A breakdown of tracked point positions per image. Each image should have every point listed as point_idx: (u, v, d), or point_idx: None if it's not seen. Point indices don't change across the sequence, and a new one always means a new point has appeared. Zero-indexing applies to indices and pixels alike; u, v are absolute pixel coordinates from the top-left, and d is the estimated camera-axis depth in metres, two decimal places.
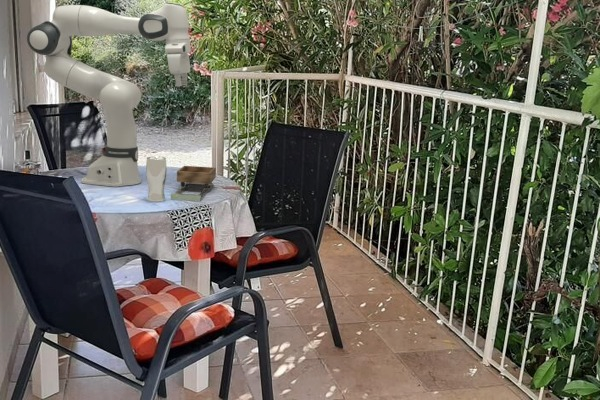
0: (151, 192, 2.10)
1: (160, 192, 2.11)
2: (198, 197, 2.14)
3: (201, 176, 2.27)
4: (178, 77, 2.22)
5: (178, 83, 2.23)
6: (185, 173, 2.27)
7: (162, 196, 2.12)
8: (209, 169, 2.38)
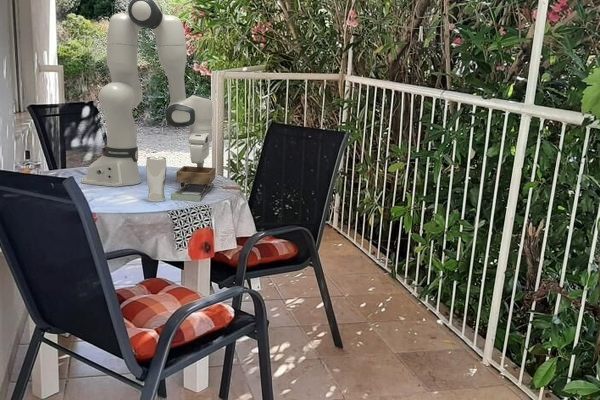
0: (151, 192, 2.10)
1: (160, 192, 2.11)
2: (198, 197, 2.14)
3: (201, 176, 2.26)
4: (200, 163, 2.37)
5: None
6: (185, 173, 2.26)
7: (162, 196, 2.12)
8: (209, 169, 2.37)
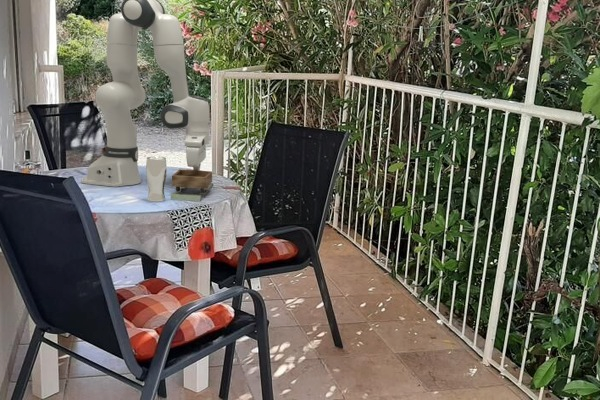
0: (151, 192, 2.10)
1: (160, 192, 2.11)
2: (198, 197, 2.14)
3: (197, 180, 2.19)
4: (196, 167, 2.30)
5: None
6: (180, 177, 2.19)
7: (162, 196, 2.12)
8: (205, 173, 2.30)
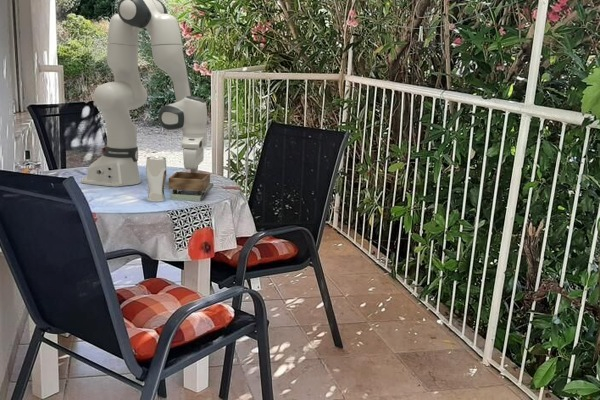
0: (151, 192, 2.10)
1: (160, 192, 2.11)
2: (198, 197, 2.14)
3: (194, 183, 2.14)
4: (194, 169, 2.25)
5: None
6: (177, 180, 2.14)
7: (162, 196, 2.12)
8: (203, 175, 2.25)
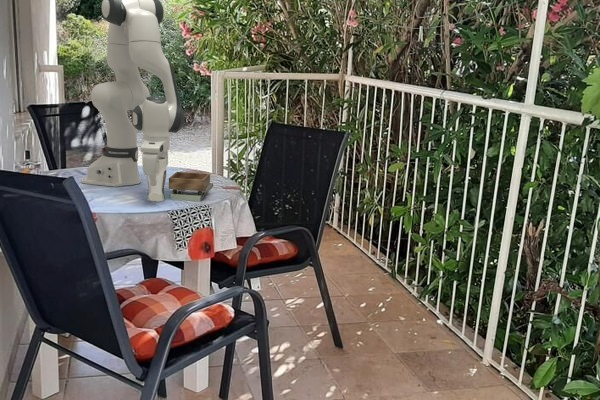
0: (151, 192, 2.10)
1: (159, 192, 2.11)
2: (198, 197, 2.14)
3: (194, 183, 2.14)
4: (153, 177, 2.06)
5: (153, 182, 2.07)
6: (177, 180, 2.14)
7: (162, 196, 2.12)
8: (203, 175, 2.26)
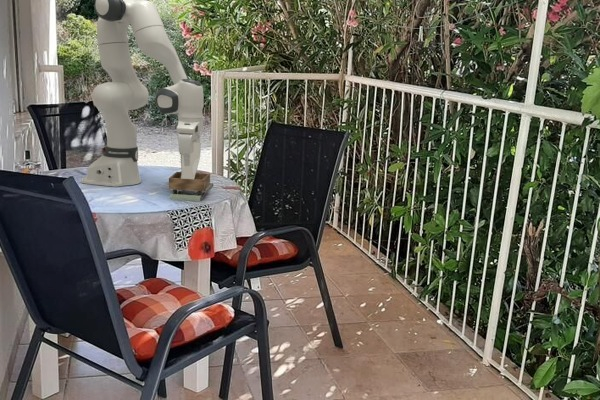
0: (184, 174, 2.16)
1: (192, 174, 2.16)
2: (198, 197, 2.14)
3: (194, 183, 2.14)
4: (187, 157, 2.12)
5: (187, 163, 2.14)
6: (177, 180, 2.14)
7: None
8: (203, 175, 2.26)
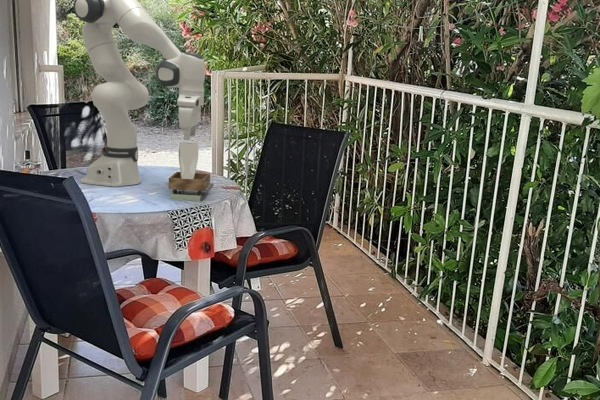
0: (183, 176, 2.15)
1: (191, 176, 2.16)
2: (198, 197, 2.14)
3: (194, 183, 2.14)
4: (187, 131, 2.10)
5: (186, 137, 2.11)
6: (177, 180, 2.14)
7: None
8: (203, 175, 2.26)
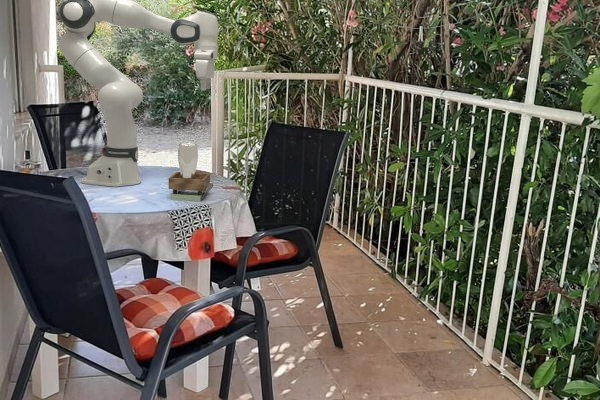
0: (183, 178, 2.15)
1: (191, 177, 2.16)
2: (198, 197, 2.14)
3: (194, 183, 2.14)
4: (203, 82, 2.34)
5: (203, 87, 2.35)
6: (177, 180, 2.14)
7: None
8: (203, 175, 2.26)
